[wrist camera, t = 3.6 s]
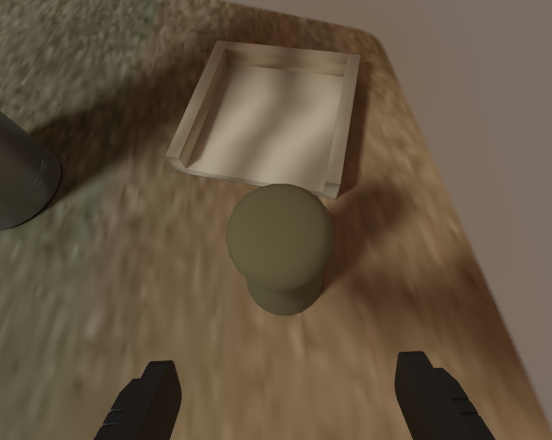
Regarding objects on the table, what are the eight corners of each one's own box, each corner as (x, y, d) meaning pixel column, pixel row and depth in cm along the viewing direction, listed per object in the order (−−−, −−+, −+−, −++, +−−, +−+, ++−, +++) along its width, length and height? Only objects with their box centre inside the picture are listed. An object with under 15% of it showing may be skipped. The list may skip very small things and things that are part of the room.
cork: (231, 290, 22) (181, 248, 12) (270, 227, 24) (255, 144, 14) (300, 331, 21) (308, 323, 10) (336, 260, 23) (372, 196, 12)
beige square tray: (176, 171, 27) (165, 155, 24) (222, 61, 32) (217, 40, 30) (335, 198, 25) (340, 184, 22) (355, 76, 30) (360, 54, 28)
